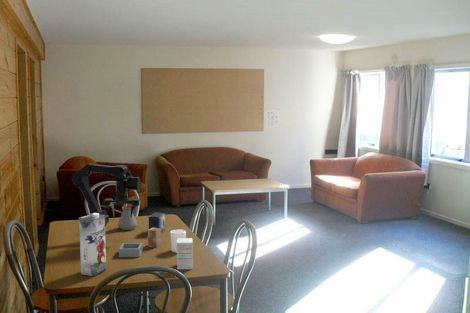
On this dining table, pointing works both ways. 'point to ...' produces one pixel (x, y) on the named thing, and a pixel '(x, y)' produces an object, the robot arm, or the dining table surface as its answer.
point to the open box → (130, 249)
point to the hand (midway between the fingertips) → (122, 217)
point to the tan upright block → (154, 237)
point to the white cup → (174, 236)
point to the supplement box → (184, 253)
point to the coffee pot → (126, 218)
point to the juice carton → (92, 244)
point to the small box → (157, 221)
